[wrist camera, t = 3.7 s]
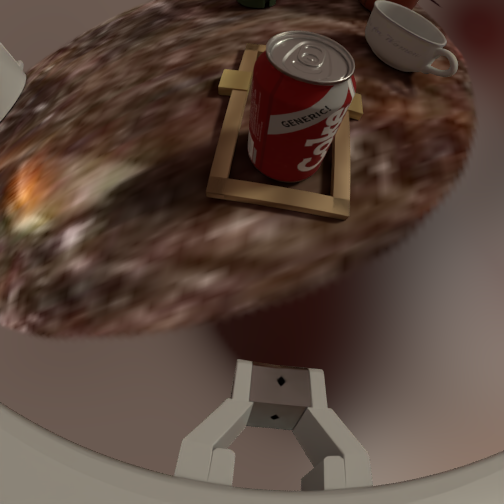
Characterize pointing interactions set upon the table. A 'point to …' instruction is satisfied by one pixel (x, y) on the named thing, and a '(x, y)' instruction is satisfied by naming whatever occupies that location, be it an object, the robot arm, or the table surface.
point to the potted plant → (405, 0)
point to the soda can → (298, 103)
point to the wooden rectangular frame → (270, 195)
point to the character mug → (256, 3)
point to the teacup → (406, 40)
